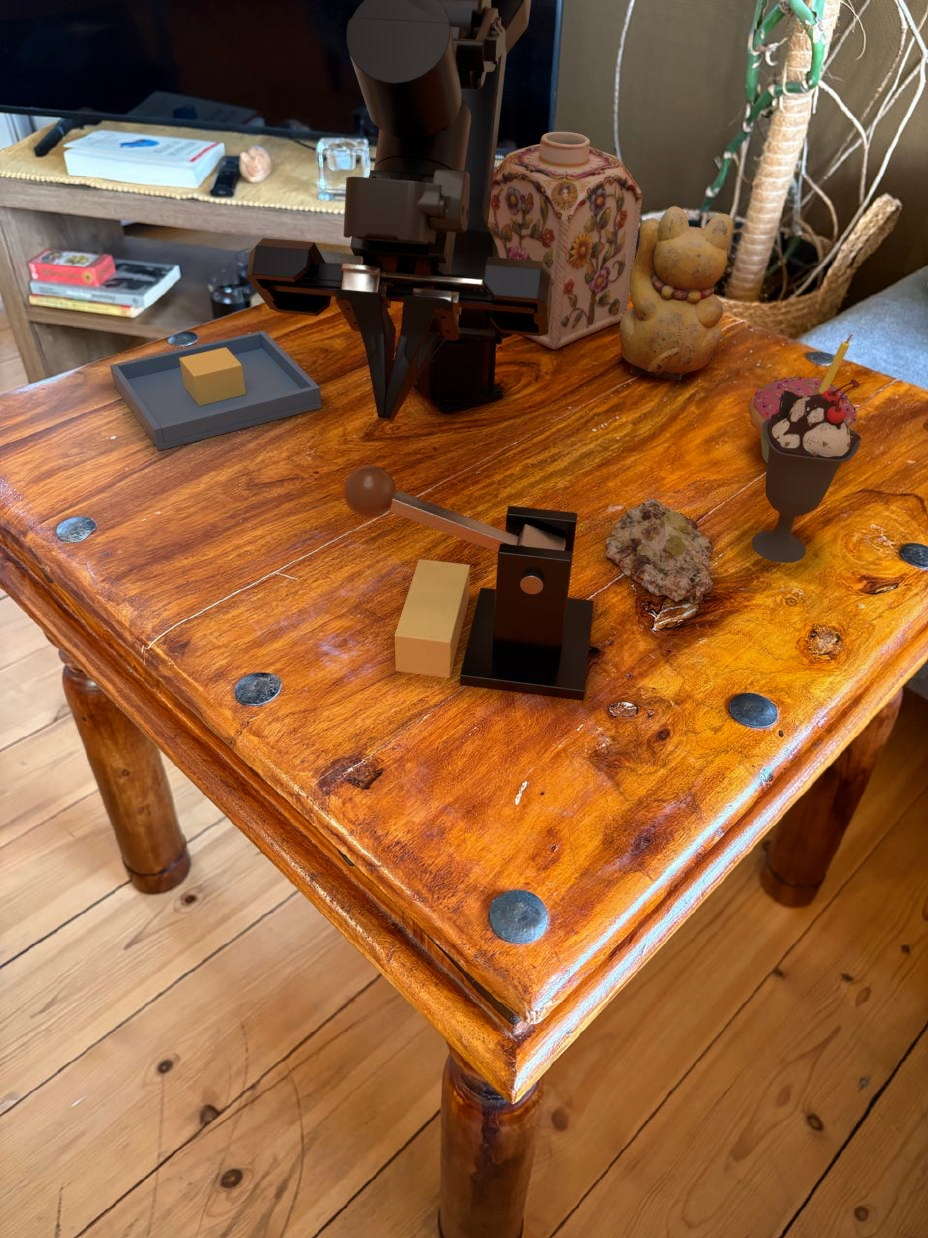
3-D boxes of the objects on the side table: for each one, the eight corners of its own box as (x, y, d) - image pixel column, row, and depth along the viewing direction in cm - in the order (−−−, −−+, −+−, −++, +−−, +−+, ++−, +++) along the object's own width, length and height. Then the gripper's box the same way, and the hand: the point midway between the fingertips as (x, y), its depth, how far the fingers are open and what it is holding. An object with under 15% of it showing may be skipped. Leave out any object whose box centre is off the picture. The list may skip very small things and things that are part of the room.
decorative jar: (473, 314, 106) (478, 133, 94) (549, 286, 112) (562, 112, 100) (555, 353, 99) (571, 165, 87) (630, 321, 105) (655, 140, 94)
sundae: (826, 582, 73) (888, 399, 63) (733, 569, 74) (779, 387, 64) (820, 530, 78) (877, 353, 68) (733, 519, 79) (776, 342, 69)
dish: (266, 349, 99) (263, 329, 97) (321, 408, 90) (320, 387, 89) (114, 385, 93) (109, 364, 91) (158, 451, 84) (154, 429, 83)
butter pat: (230, 376, 93) (226, 346, 91) (246, 394, 91) (242, 364, 89) (184, 387, 92) (178, 357, 90) (199, 406, 89) (193, 376, 87)
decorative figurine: (713, 355, 100) (744, 202, 90) (714, 395, 94) (748, 236, 84) (617, 346, 101) (637, 194, 91) (612, 385, 95) (633, 226, 85)
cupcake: (847, 448, 87) (888, 318, 79) (831, 497, 81) (874, 362, 73) (750, 425, 90) (780, 297, 82) (727, 471, 84) (758, 338, 76)
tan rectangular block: (419, 597, 71) (418, 558, 68) (469, 603, 70) (470, 564, 68) (395, 674, 65) (394, 635, 62) (450, 681, 64) (450, 642, 62)
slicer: (459, 688, 64) (462, 569, 57) (479, 599, 71) (484, 484, 64) (583, 704, 63) (600, 585, 57) (592, 613, 70) (608, 497, 63)
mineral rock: (584, 505, 75) (682, 470, 76) (592, 546, 79) (687, 512, 79) (635, 598, 68) (745, 558, 68) (642, 639, 71) (747, 601, 71)
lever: (332, 516, 60) (345, 476, 58) (345, 487, 62) (358, 447, 60) (545, 597, 62) (565, 560, 59) (550, 565, 64) (569, 529, 62)
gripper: (235, 95, 56) (196, 363, 55) (563, 117, 54) (528, 395, 53) (289, 194, 67) (256, 418, 66) (563, 215, 65) (534, 447, 64)
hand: (385, 419), depth 62 cm, fingers closed
